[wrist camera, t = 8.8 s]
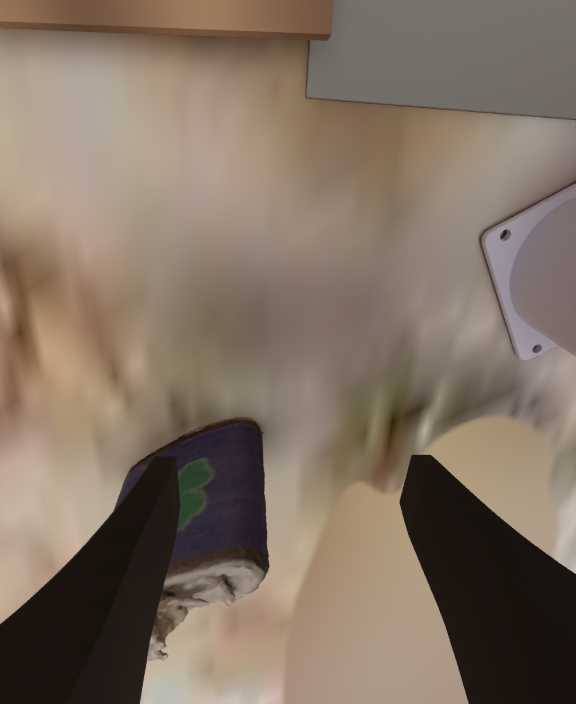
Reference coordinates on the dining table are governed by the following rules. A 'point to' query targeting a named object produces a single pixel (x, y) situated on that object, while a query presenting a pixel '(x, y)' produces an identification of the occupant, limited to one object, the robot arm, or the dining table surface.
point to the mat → (450, 56)
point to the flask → (212, 521)
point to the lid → (176, 17)
